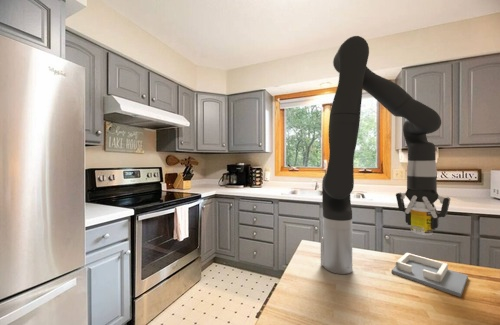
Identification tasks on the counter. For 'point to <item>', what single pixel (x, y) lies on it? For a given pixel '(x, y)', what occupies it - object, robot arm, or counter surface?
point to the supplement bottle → (421, 219)
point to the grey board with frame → (430, 273)
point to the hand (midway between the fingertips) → (421, 226)
